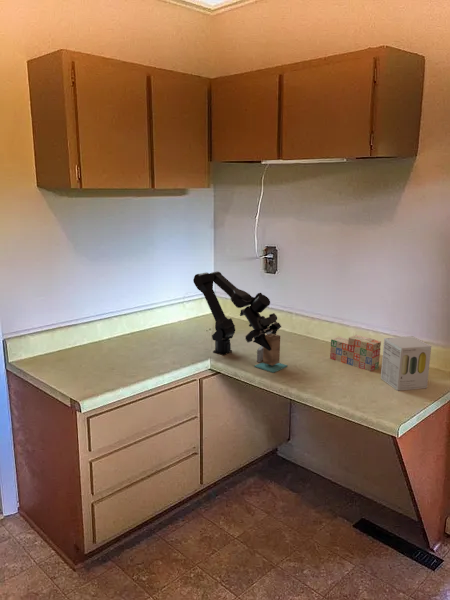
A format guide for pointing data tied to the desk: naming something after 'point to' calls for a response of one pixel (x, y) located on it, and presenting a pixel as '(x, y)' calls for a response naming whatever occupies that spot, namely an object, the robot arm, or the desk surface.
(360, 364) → the stack of blocks
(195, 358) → the desk surface
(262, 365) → the mat
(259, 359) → the screen
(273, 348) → the letter block
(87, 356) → the desk surface
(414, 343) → the supplement box
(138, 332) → the desk surface
